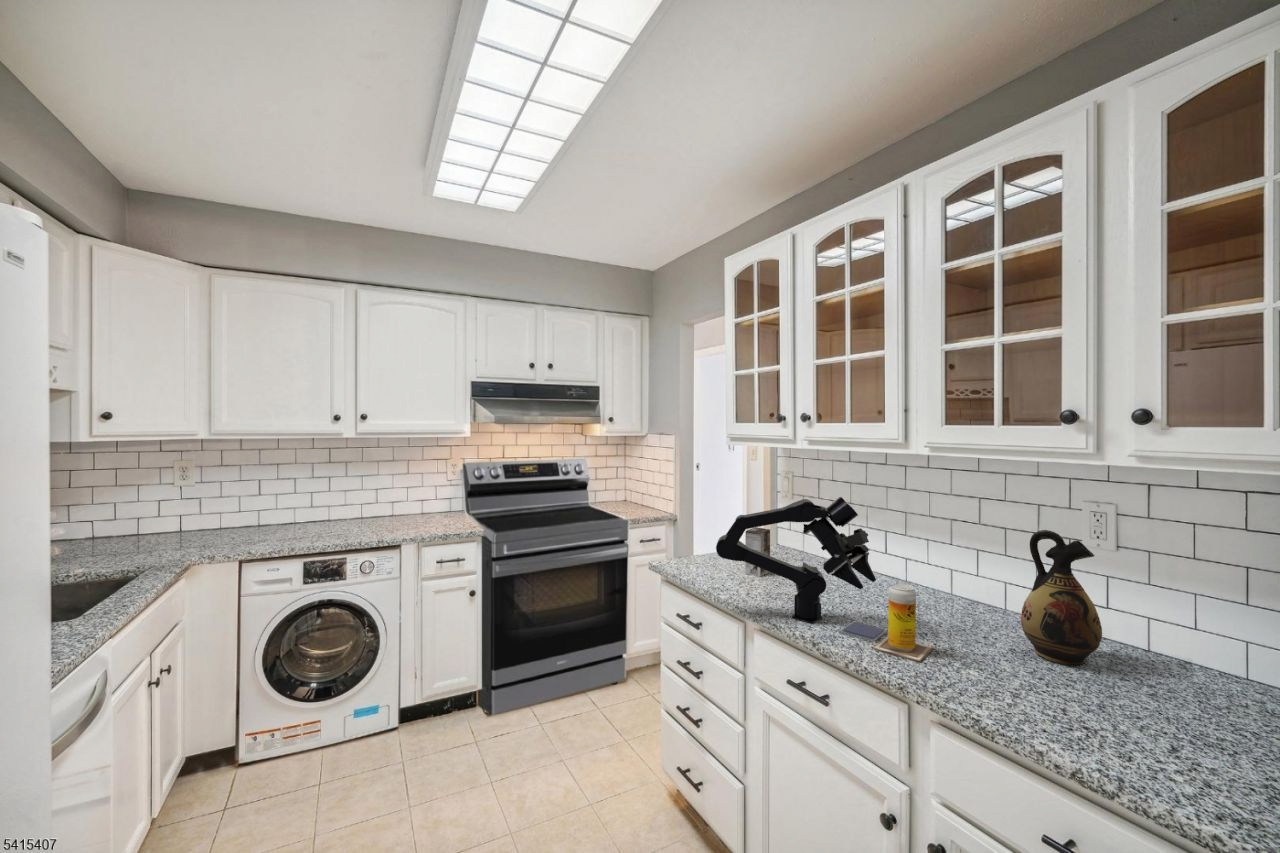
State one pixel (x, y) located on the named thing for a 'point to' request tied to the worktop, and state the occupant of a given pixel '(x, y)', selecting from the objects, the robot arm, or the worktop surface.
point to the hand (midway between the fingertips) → (868, 584)
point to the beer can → (902, 617)
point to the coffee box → (757, 548)
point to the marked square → (915, 655)
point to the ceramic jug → (1060, 606)
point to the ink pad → (863, 631)
